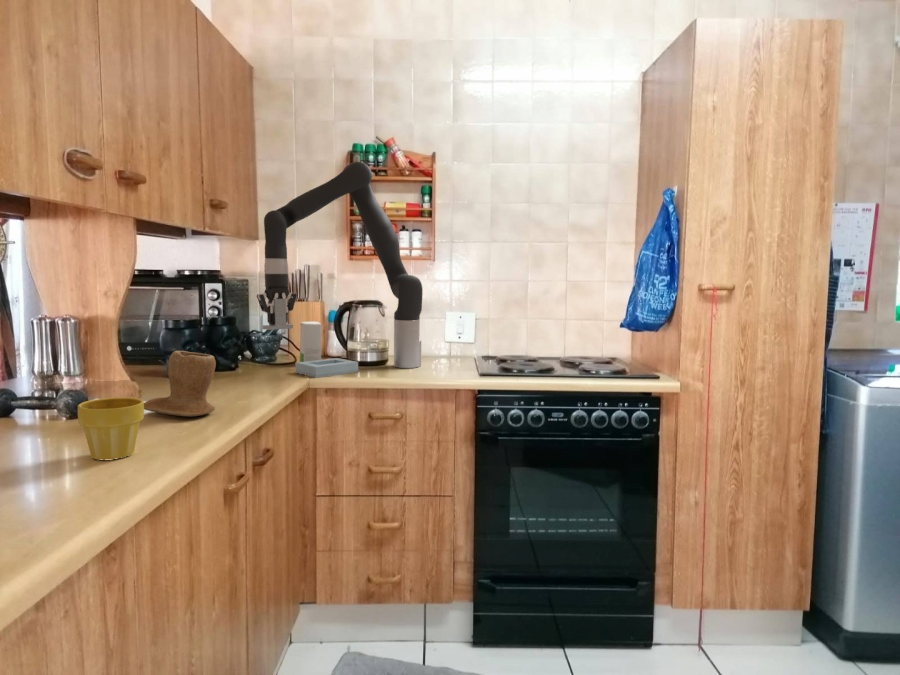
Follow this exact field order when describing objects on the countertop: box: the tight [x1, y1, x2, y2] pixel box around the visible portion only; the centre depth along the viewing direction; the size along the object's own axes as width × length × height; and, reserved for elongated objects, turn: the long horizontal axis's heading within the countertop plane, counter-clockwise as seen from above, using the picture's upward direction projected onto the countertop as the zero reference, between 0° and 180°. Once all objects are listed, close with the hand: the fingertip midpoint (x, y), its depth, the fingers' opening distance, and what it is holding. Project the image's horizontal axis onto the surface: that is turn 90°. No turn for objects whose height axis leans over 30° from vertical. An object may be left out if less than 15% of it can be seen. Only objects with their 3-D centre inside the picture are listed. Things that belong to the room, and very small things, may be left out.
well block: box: [294, 357, 359, 379], centre depth 196 cm, size 17×12×4 cm
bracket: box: [262, 298, 294, 331], centre depth 193 cm, size 9×4×10 cm, turn 136°
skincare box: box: [299, 320, 322, 362], centre depth 213 cm, size 8×7×16 cm
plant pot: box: [77, 396, 145, 460], centre depth 105 cm, size 10×10×10 cm
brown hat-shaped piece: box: [144, 350, 217, 417], centre depth 136 cm, size 15×12×15 cm
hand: (277, 323), depth 194 cm, fingers closed on bracket, 4 cm apart
